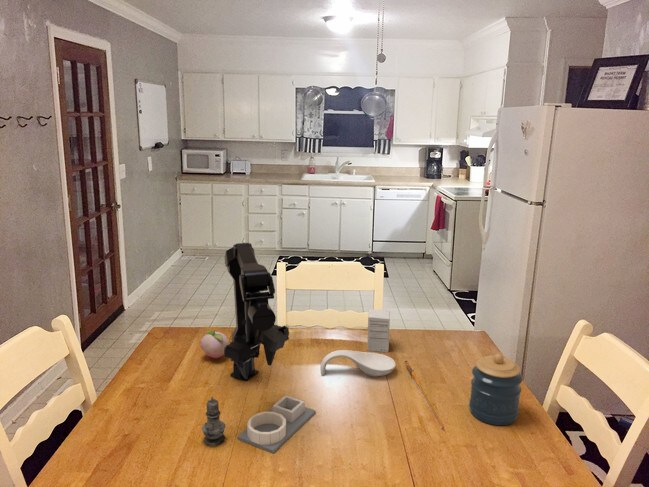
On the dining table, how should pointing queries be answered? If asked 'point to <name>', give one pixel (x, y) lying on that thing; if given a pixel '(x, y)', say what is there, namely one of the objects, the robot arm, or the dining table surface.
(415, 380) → the katana
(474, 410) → the canister
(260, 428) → the socket board
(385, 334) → the supplement box
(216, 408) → the dark grey tiered column
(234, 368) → the robot arm
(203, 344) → the decorative fruit
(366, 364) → the spoon rest
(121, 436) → the dining table surface
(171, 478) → the dining table surface
